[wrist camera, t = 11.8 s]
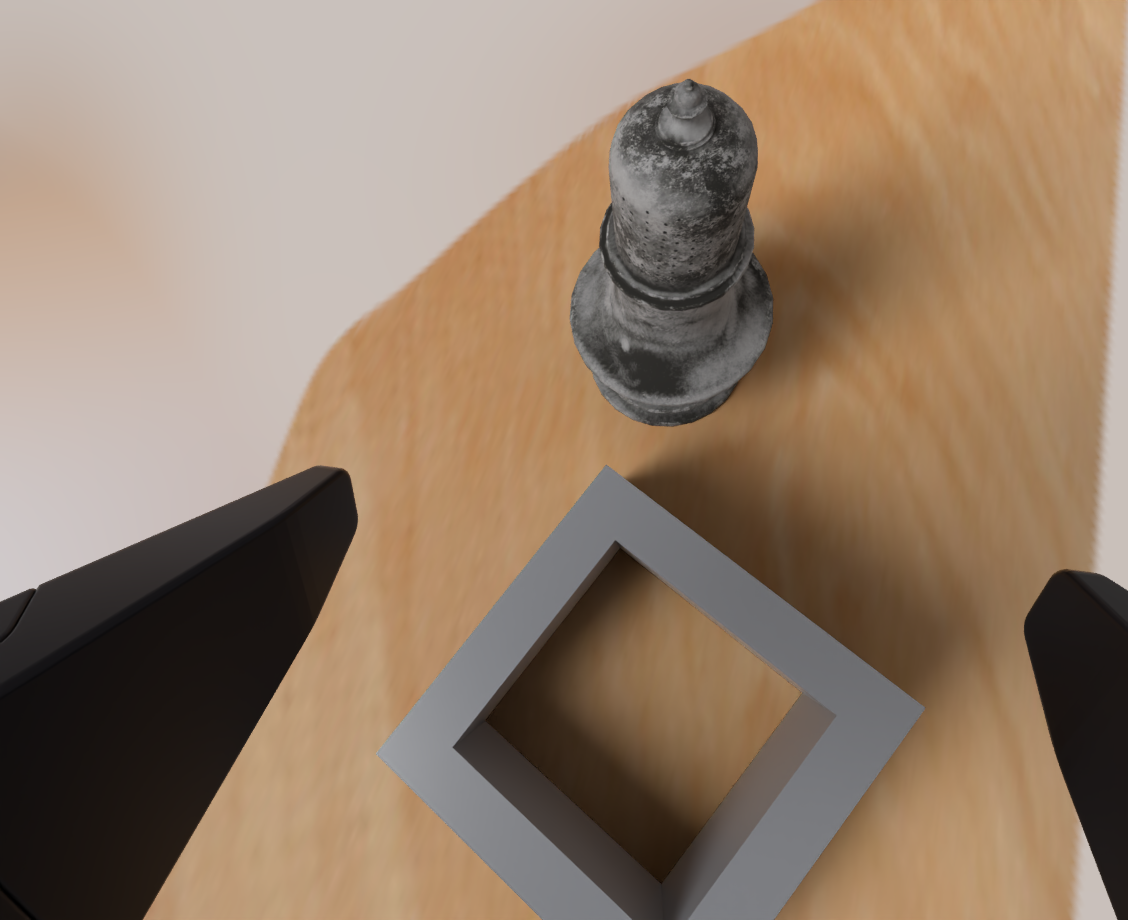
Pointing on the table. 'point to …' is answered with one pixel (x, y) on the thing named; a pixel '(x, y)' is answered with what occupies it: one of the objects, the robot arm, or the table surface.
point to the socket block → (749, 811)
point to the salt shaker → (675, 261)
